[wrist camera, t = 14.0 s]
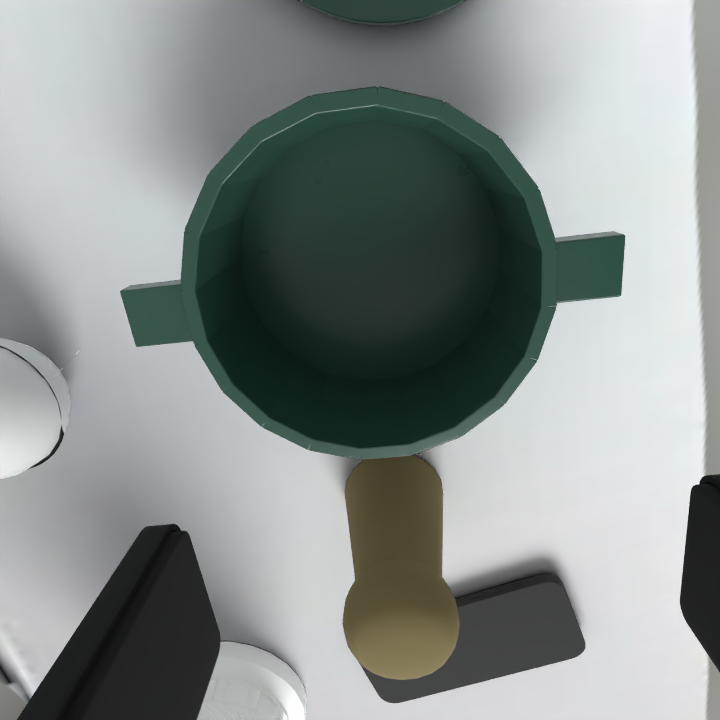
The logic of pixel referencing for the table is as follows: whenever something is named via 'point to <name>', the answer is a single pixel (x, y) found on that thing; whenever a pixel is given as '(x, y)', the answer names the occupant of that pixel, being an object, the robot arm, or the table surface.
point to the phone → (499, 638)
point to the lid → (382, 10)
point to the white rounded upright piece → (29, 407)
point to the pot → (371, 274)
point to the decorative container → (252, 687)
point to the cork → (398, 570)
